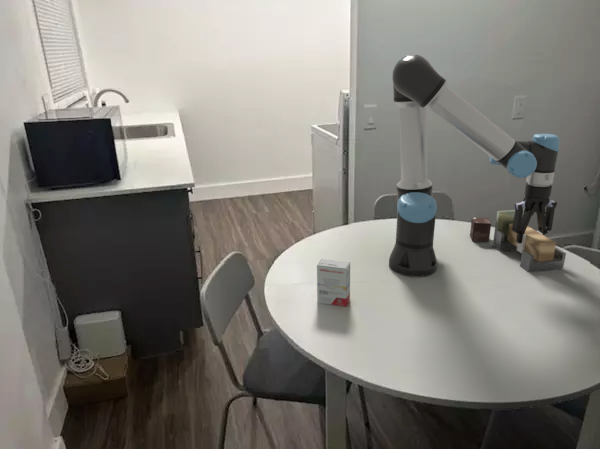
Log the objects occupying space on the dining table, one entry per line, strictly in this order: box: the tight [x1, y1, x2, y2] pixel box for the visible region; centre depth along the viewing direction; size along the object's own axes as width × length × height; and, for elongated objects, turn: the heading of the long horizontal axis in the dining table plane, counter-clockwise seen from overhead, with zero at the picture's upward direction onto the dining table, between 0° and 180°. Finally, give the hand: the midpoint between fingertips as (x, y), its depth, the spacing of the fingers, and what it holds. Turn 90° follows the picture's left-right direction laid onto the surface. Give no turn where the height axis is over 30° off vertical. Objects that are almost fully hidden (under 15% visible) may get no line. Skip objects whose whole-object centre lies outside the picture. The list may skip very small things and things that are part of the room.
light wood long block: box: [507, 224, 557, 261], centre depth 154 cm, size 18×5×6 cm, turn 7°
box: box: [469, 217, 492, 243], centre depth 172 cm, size 6×6×7 cm
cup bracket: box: [492, 208, 525, 252], centre depth 163 cm, size 12×5×13 cm, turn 99°
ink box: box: [316, 258, 351, 307], centre depth 130 cm, size 9×5×12 cm, turn 71°
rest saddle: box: [519, 247, 567, 273], centre depth 149 cm, size 12×4×6 cm, turn 99°
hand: (528, 250), depth 156 cm, fingers open, 5 cm apart
